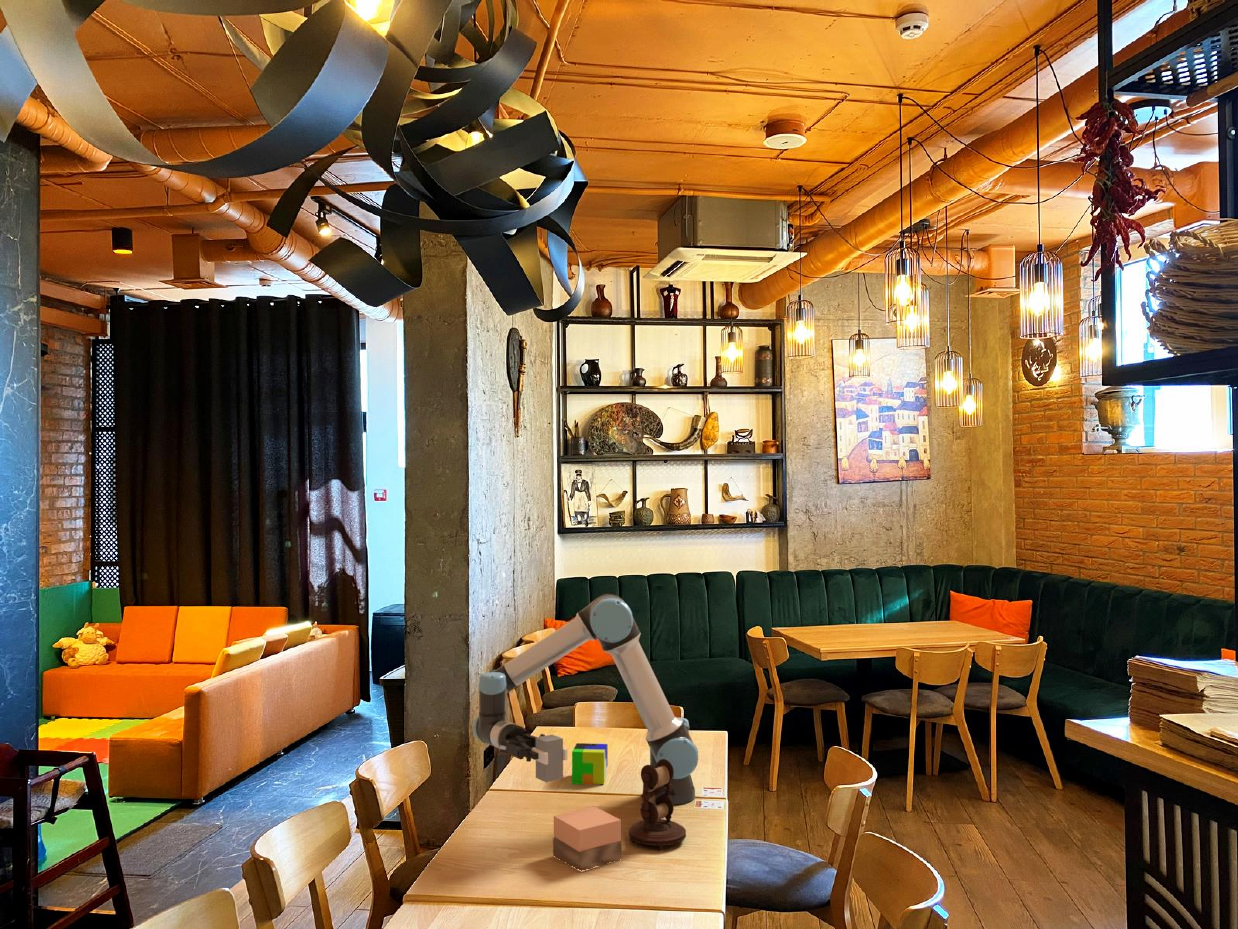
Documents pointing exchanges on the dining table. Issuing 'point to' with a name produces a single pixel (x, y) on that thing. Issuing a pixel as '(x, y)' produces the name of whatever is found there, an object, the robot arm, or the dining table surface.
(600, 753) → the puzzle toy
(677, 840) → the scroll
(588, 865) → the tower bottom
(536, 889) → the dining table surface
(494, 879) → the dining table surface
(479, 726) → the robot arm
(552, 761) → the grey block
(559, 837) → the tower top
